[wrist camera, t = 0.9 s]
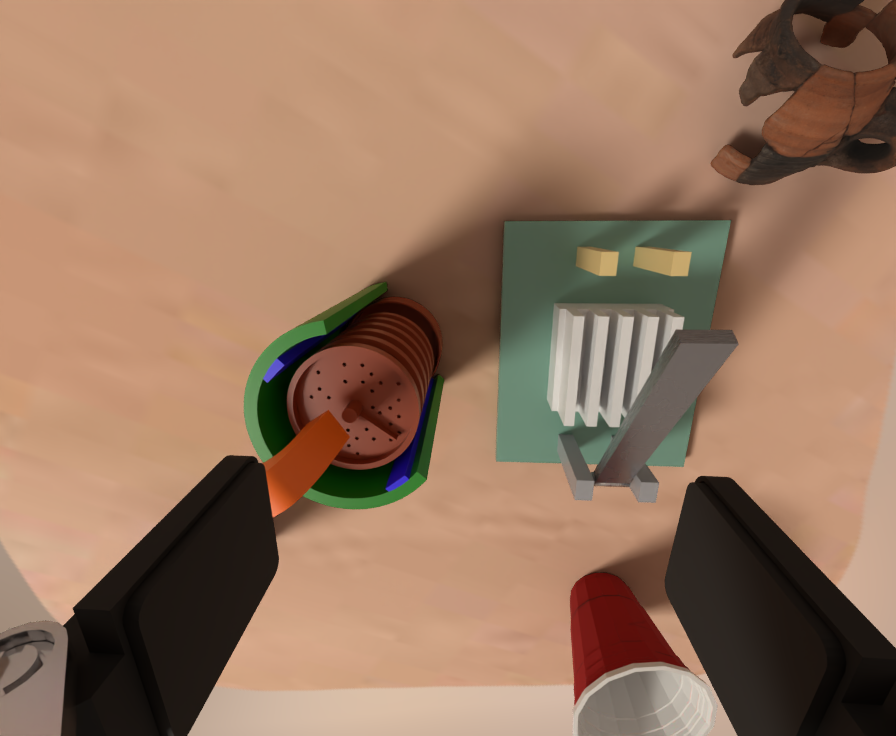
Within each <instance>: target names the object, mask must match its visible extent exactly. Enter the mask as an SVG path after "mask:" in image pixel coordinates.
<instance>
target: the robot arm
mask: <svg viewBox="0 0 896 736" xmlns="http://www.w3.org/2000/svg"><path fill="white" fill-rule="evenodd" d="M278 563H279V555H278V548H277V542H276V535H275V529H274V522H273V516H272V509H271V503H270V496H269V489H268V483H267V476H266V470H265V466H264V465H263V464H262V463H258V460H257V459H256V458H255V457H254V456H234V455H229V456H226V457H225V458H224V459H223V460H222V461H221V462H220V463H218V464H217V465H216V466H215V467H214V468H213V469H212V470H211V471H210V472H209V473H208V474H207V475H206V476H205V477H204V478H203V479H202V480H201V481H200V482H199V483H198V484H197V485H196V486H195V487H194V488H193V489H192V490H191V491H190V492H189V493H188V494H187V495H186V496H185V497H184V498H183V499H182V500H181V501H180V502H179V503H178V504H177V505H176V506H175V507H174V508H173V509H172V510H171V511H170V512H169V513H168V514H167V515H166V516H165V517H164V518H163V519H162V520H161V521H160V522H159V523H158V524H157V525H156V526H155V527H154V528H153V529H152V530H151V531H150V532H149V533H148V534H147V535H146V536H145V537H144V538H143V539H142V540H141V541H140V542H139V543H138V544H137V545H136V546H135V547H134V548H133V549H132V550H131V551H130V552H129V553H128V554H127V555H126V556H125V557H124V558H123V559H122V560H121V561H120V562H119V563H118V564H117V565H116V566H115V567H114V568H113V569H112V570H111V571H110V572H109V573H108V574H107V575H106V576H105V577H104V578H103V579H102V580H101V581H100V582H99V583H98V584H97V585H96V586H95V587H94V588H93V589H92V590H91V591H90V592H89V593H88V594H87V595H86V596H85V597H84V598H83V599H82V600H81V601H79V602H78V603H77V604H76V605H75V606H74V607H73V610H74V613H75V614H74V615H73V616H72V617H71V618H70V619H69V620H68V621H67V622H66V623H65V624H64V625H63V626H62V625H61V624H60V623H58V622H52V621H39V622H30V623H27V624H24V625H20V626H17V627H14V628H11V629H8V630H6V631H4V632H2V633H0V736H187V735H188V733H189V731H190V730H191V728H192V726H193V724H194V723H195V721H196V719H197V717H198V715H199V713H200V711H201V710H202V708H203V706H204V704H205V702H206V700H207V699H208V697H209V695H210V693H211V691H212V690H213V688H214V686H215V684H216V682H217V680H218V679H219V677H220V675H221V673H222V671H223V669H224V668H225V666H226V664H227V662H228V660H229V658H230V657H231V655H232V653H233V651H234V649H235V647H236V646H237V644H238V642H239V640H240V638H241V636H242V635H243V633H244V631H245V629H246V627H247V625H248V623H249V622H250V620H251V618H252V616H253V614H254V612H255V611H256V609H257V607H258V605H259V603H260V601H261V600H262V598H263V596H264V594H265V592H266V590H267V589H268V587H269V585H270V583H271V581H272V579H273V578H274V576H275V574H276V571H277V568H278ZM665 589H666V593H667V596H668V598H669V600H670V602H671V604H672V606H673V608H674V610H675V612H676V614H677V616H678V618H679V620H680V622H681V624H682V626H683V628H684V630H685V632H686V634H687V636H688V638H689V640H690V642H691V644H692V646H693V648H694V650H695V652H696V654H697V656H698V658H699V660H700V662H701V664H702V666H703V668H704V670H705V672H706V674H707V676H708V678H709V680H710V681H711V684H712V686H713V688H714V690H715V691H716V693H717V696H718V697H719V700H720V702H721V703H722V706H723V708H724V710H725V712H726V714H727V716H728V717H729V720H730V722H731V724H732V725H733V727H734V729H735V731H736V733H737V735H738V736H896V648H895V647H894V646H893V645H892V644H891V643H890V642H889V641H888V640H887V639H886V638H885V637H884V636H883V635H882V634H881V633H880V632H879V630H878V629H876V627H875V626H874V625H873V624H872V623H871V622H870V621H869V620H868V619H867V618H866V617H865V616H864V615H863V614H862V613H861V612H860V611H859V610H858V609H857V608H856V607H855V606H854V605H853V603H851V601H850V600H849V599H848V598H847V597H846V596H845V595H844V594H843V593H842V592H841V591H840V590H839V589H838V588H837V587H836V586H835V585H834V584H833V583H832V582H831V581H830V580H829V579H828V578H827V577H826V575H825V574H824V573H823V572H822V571H821V570H820V569H819V568H818V567H817V566H816V565H815V564H814V563H813V562H812V561H811V560H810V559H809V558H808V557H807V556H806V555H805V554H804V553H803V552H802V551H801V550H800V548H799V547H798V546H797V545H796V544H795V543H794V542H793V541H792V540H791V539H790V538H789V537H788V536H787V535H786V534H785V533H784V532H783V531H782V530H781V529H780V528H779V527H778V526H777V525H776V524H775V523H774V522H773V520H772V519H771V518H770V517H769V516H768V515H767V514H766V513H765V512H764V511H763V510H762V509H761V508H760V507H759V506H758V505H757V504H756V503H755V502H754V501H753V500H752V499H751V498H750V497H749V496H748V495H747V493H746V492H745V491H744V490H743V489H742V488H741V487H740V486H739V485H738V484H737V483H736V482H735V481H734V480H733V479H731V478H729V477H713V476H700V477H698V478H697V479H696V481H695V483H694V482H692V483H690V484H689V485H688V487H687V490H686V494H685V498H684V502H683V506H682V510H681V514H680V518H679V523H678V527H677V531H676V535H675V539H674V543H673V547H672V551H671V555H670V559H669V564H668V568H667V572H666V576H665Z"/></svg>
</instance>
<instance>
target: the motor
mask: <svg viewBox="0 0 896 736" xmlns="http://www.w3.org/2000/svg"><path fill="white" fill-rule="evenodd" d="M387 290H388V288H387V282H382V283H378V284H375V285H372V286H370V287H368V288H366V289H364V290H362V291H360V292H358V293H357V294H355V295H353V296H351V297H349V298H348V299H346V300H344V301H342V302H340V303H339V304H337V305H335V306H333V307H331V308H330V309H328V310H326V311H324V312H322V313H321V314H319V315H317V316H315V317H313V318H312V319H310V320H308V321H306V322H304V323H303V324H301V325H299V326H297V327H295V328H294V329H292V330H290V331H288V332H287V333H285V334H283V335H282V336H280V337H279V338H277V339H276V340H275V341H274V342H272V343H271V344H270V345H269V346H268V347H267V348H266V349H265V350H264V352H263V353H262V354H261V355H260V357H259V358H258V360H257V361H256V363H255V364H254V366H253V368H252V370H251V373H250V375H249V378H248V381H247V384H246V388H245V395H244V416H245V423H246V427H247V431H248V434H249V437H250V440H251V442H252V444H253V446H254V448H255V450H256V452H257V454H258V455H259V457H260V459H261V460H262V461H263V463H262V464H263V465H264V466H265V470H266V476H267V483H268V489H269V496H270V503H271V509H272V516H273V517H275V516H277V515H278V514H280V513H282V512H283V511H285V510H286V509H288V508H289V507H290V506H292V505H293V504H294V503H295V502H296V501H298V500H299V499H300V498H301V497H302V496H304V497H306V498H308V499H310V500H312V501H315V502H317V503H320V504H324V505H327V506H331V507H336V508H343V509H368V508H375V507H380V506H384V505H387V504H390V503H393V502H395V501H398V500H400V499H402V498H404V497H405V496H407V495H409V494H410V493H412V492H413V491H415V490H416V489H417V488H418V487H420V486H421V485H422V484H423V483H424V482H425V481H426V480H427V475H428V469H429V464H430V458H431V452H432V446H433V441H434V435H435V429H436V424H437V418H438V412H439V406H440V401H441V395H442V389H443V383H444V379H443V378H442V377H441V376H440V375H439V374H438V375H437V377H436V378H435V379H433V378H432V377H433V375H434V373H435V372H436V370H437V367H438V365H439V361H440V357H441V353H442V334H441V330H440V328H439V325H438V323H437V321H436V320H435V318H434V317H433V315H432V314H431V313H430V312H429V311H428V310H427V309H426V308H425V307H423V306H422V305H421V304H419V303H417V302H415V301H413V300H410V299H407V298H402V297H387V298H383V299H379V300H377V301H375V302H373V303H371V304H370V305H368V304H369V303H370V302H372V301H373V300H375V299H376V298H377V297H379V296H380V295H382V294H383V293H384V292H386V291H387ZM366 305H368V306H367V307H366V308H364V307H365V306H366ZM362 308H364V309H363V310H361V309H362ZM360 310H361V311H360ZM352 319H353V320H352ZM350 320H352V321H351V323H350V324H349V326H348V328H346V325H347V323H348V322H349V321H350ZM345 328H346V329H345Z"/></svg>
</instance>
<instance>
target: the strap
mask: <svg viewBox="0 0 896 736" xmlns="http://www.w3.org/2000/svg"><path fill="white" fill-rule="evenodd" d="M737 345H738V342H737V340H736V337H735V335H734V333H733V331H732V330H680V329H676V330H675V332H674V334H673V335H672V337H671V339H670V341H669V342H668V344H667V346H666V348H665V349H664V351H663V353H662V354H661V356H660V358H659V360H658V361H657V363H656V365H655V367H654V368H653V370H652V372H651V374H650V375H649V377H648V379H647V380H646V382H645V384H644V386H643V387H642V389H641V391H640V393H639V394H638V396H637V398H636V399H635V401H634V403H633V405H632V406H631V408H630V410H629V412H628V413H627V415H626V417H625V419H624V420H623V422H622V424H621V425H620V427H619V429H618V431H617V432H616V434H615V436H614V438H613V439H612V441H611V443H610V445H609V446H608V448H607V450H606V451H605V453H604V455H603V457H602V458H601V460H600V462H599V464H598V465H597V467H596V469H595V471H594V472H591V475H592V477H593V479H594V486H607V487H630V484H631V481H632V479H633V478H634V477H635V476H636V474H637V473H638V472H639V470H640V469H641V468H642V467H643V465H644V464H645V463H646V462H647V460H648V459H649V458H650V456H651V455H652V454H653V453H654V451H655V450H656V449H657V447H658V446H659V445H660V444H661V442H662V441H663V440H664V439H665V437H666V436H667V435H668V433H669V432H670V431H671V430H672V428H673V427H674V426H675V425H676V423H677V422H678V421H679V419H680V418H681V417H682V416H683V414H684V413H685V412H686V410H687V409H688V408H689V407H690V405H691V404H692V403H693V402H694V400H695V399H696V398H697V396H698V395H699V394H700V393H701V391H702V390H703V389H704V387H705V386H706V385H707V384H708V382H709V381H710V380H711V379H712V377H713V376H714V375H715V373H716V372H717V371H718V370H719V368H720V367H721V366H722V365H723V363H724V362H725V361H726V359H727V358H728V357H729V356H730V354H731V353H732V352H733V350H734V349H735V348H736V347H737Z"/></svg>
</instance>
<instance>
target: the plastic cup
mask: <svg viewBox="0 0 896 736" xmlns="http://www.w3.org/2000/svg"><path fill="white" fill-rule="evenodd" d="M570 611H571V641H572V656H573V670H574V696H575V702H574V705H575V706H574V708H573V736H707V735H708V733H709V732H710V731H711V729H712V728H713V727H714V723H715V718H716V711H717V703H716V701H715V699H714V696H713V694H712V691H711V689H710V687H709V686H708V685H707V684H706V683H705V682H704V681H703V680H701V679H700V678H699V677H698V676H696V675H695V674H694V673H692V672H691V671H690V670H689V669H688V668H687V667H686V666H685V665H684V664H683V663H682V661H681V660H680V658H679V657H678V656H676V655H675V653H674V652H673V650H672V649H671V647H670V646H669V644H668V643H667V642H666V640H665V639H664V637H663V636H662V634H661V633H660V631H659V630H658V628H657V627H656V626H655V624H654V623H653V621H652V620H651V618H650V617H649V615H648V614H647V612H646V611H645V609H644V608H643V607H642V606H641V605H640V604H639V602H638V601H637V599H636V598H635V596H634V595H633V593H632V591H631V590H630V588H629V587H628V586H627V585H626V584H625V583H624V582H623V581H622V580H621V579H620V578H618V577H617V576H615V575H611V574H608V573H593V574H590V575H587V576H584V577H583V578H581V579H580V580H579V581H577V582H576V583H575V585H574V587H573V588H572V590H571V596H570Z"/></svg>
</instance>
